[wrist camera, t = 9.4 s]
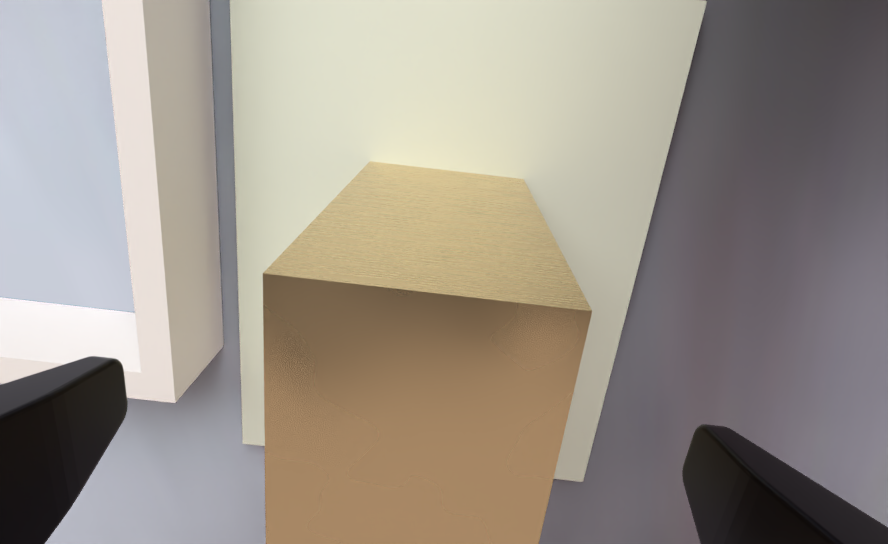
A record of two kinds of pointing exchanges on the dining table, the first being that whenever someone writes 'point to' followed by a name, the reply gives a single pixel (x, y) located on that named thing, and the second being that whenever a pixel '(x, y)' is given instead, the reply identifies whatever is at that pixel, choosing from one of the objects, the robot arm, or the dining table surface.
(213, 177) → the white square frame
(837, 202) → the dining table surface
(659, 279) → the dining table surface
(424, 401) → the block
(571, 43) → the rubber pad
